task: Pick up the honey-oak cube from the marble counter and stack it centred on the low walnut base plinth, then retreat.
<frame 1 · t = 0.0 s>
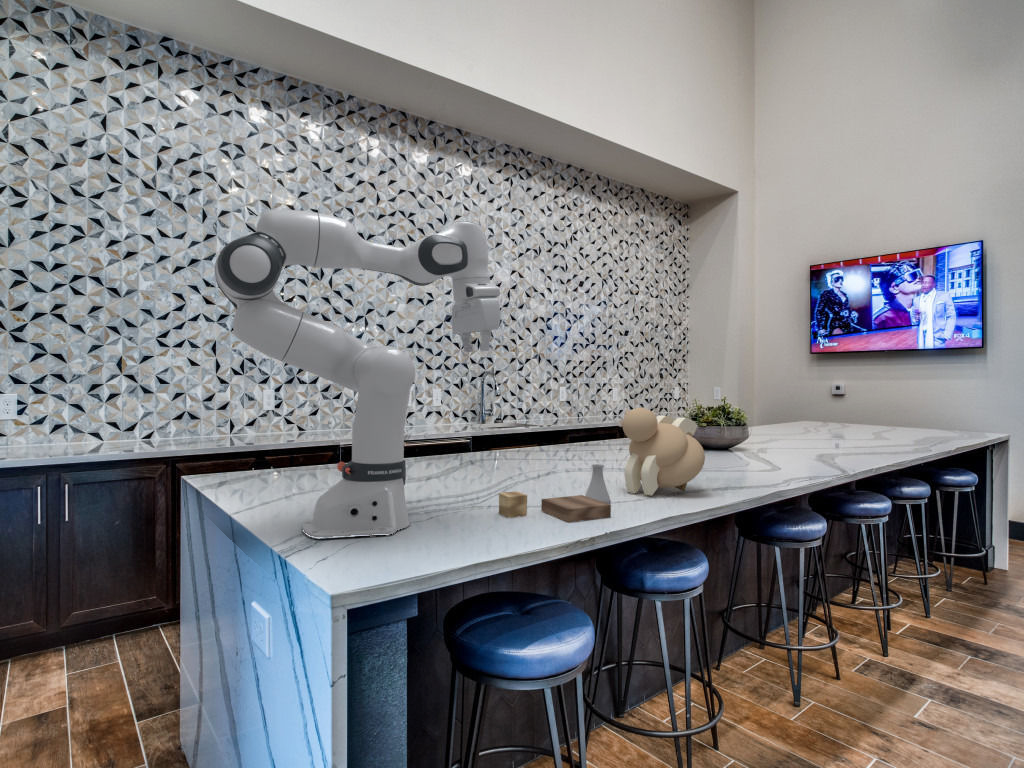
hand: (476, 351, 137), 39 cm above the worktop, tool pointing down, fingers open, 8 cm apart
walnut base: (575, 514, 141), on the worktop
flask: (597, 503, 155), on the worktop
oak cube: (512, 514, 139), on the worktop
tan rounded figure: (663, 492, 171), on the worktop
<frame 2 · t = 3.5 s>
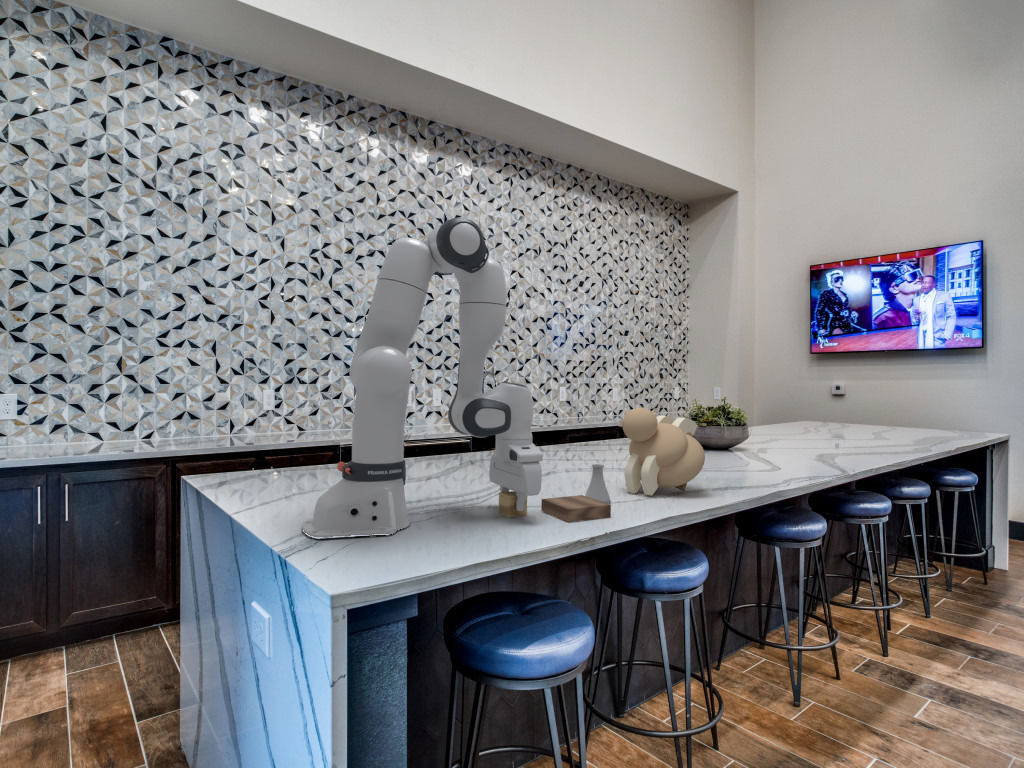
hand: (512, 507, 139), 2 cm above the worktop, tool pointing down, fingers closed on oak cube, 5 cm apart
oak cube: (512, 514, 139), on the worktop, touching gripper
everything else where it was.
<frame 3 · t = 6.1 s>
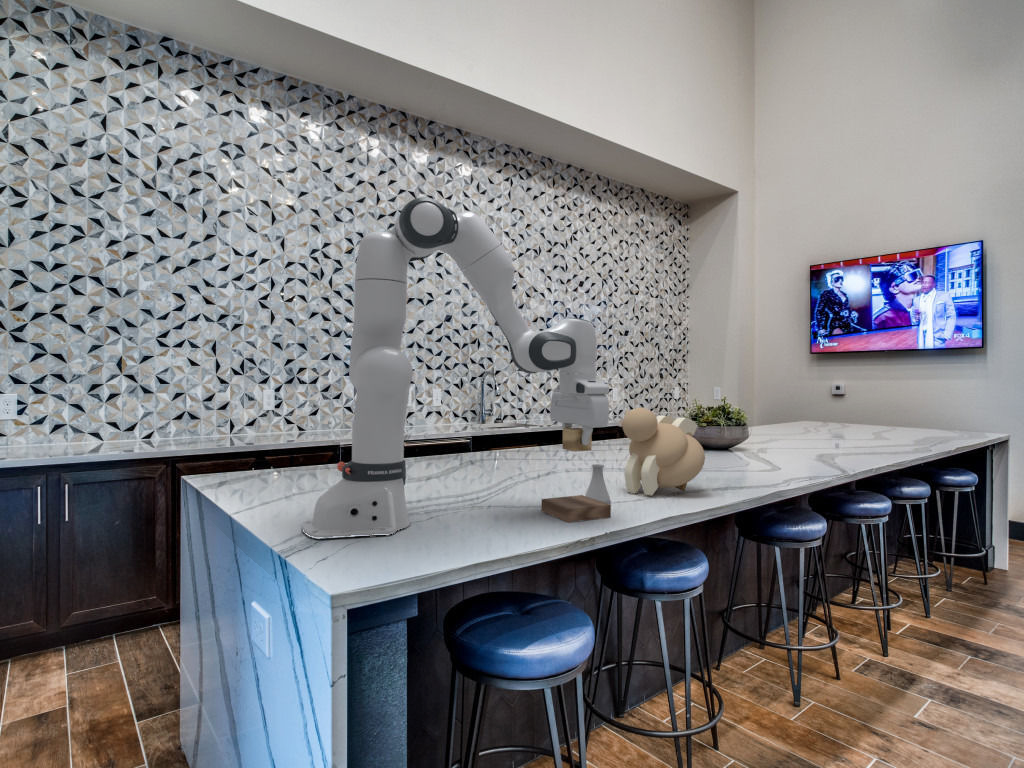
hand: (576, 443, 140), 17 cm above the worktop, tool pointing down, fingers closed on oak cube, 5 cm apart
oak cube: (576, 449, 140), point 16 cm above the worktop, touching gripper
everything else where it was.
when the fingers open (6 cm above the worktop, at t = 8.6 s): oak cube stays where it is, resting on walnut base.
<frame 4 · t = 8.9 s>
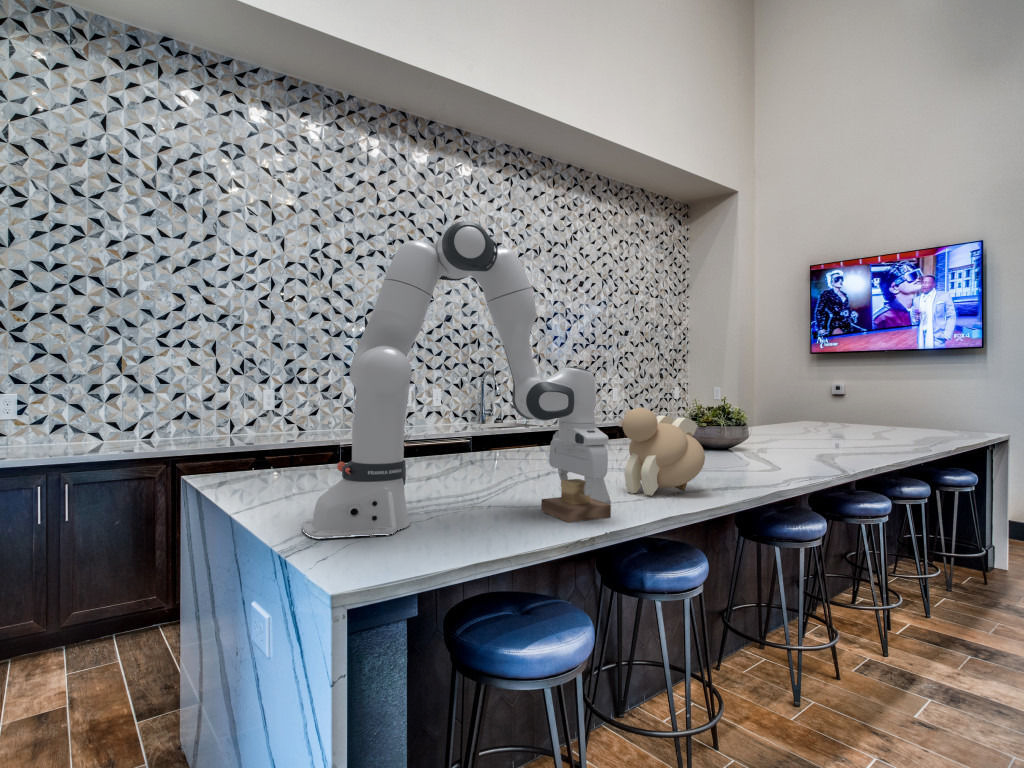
hand: (575, 491, 140), 6 cm above the worktop, tool pointing down, fingers open, 8 cm apart
oak cube: (575, 501, 141), point 3 cm above the worktop, touching walnut base
everything else where it was.
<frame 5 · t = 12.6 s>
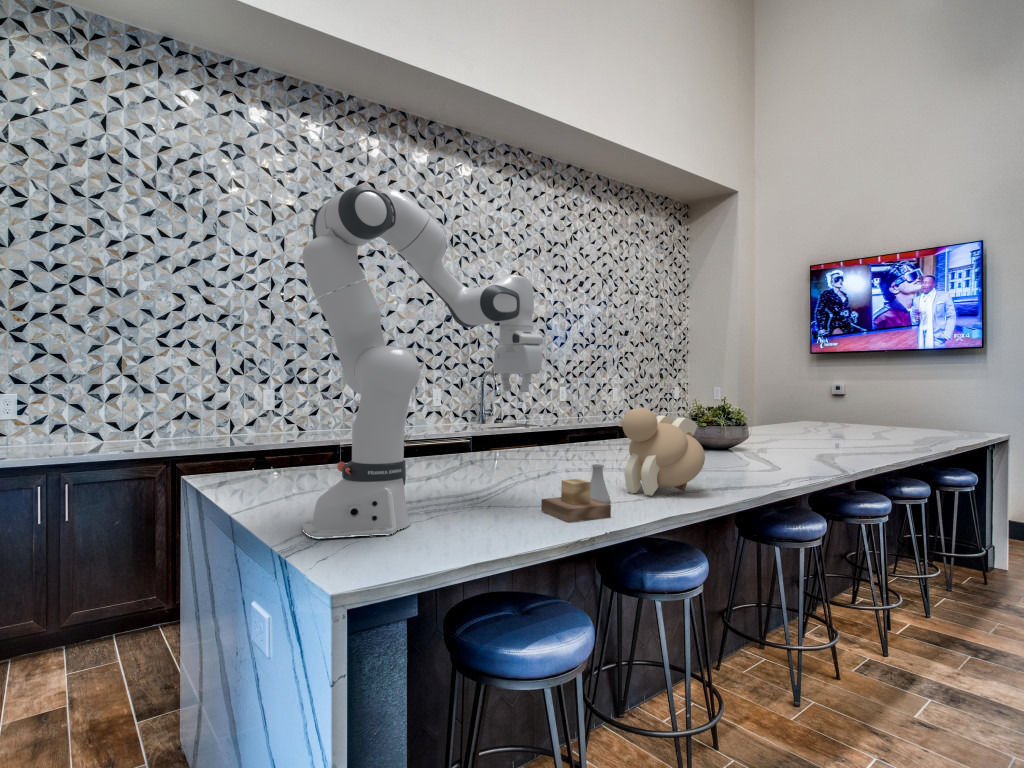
hand: (515, 391, 151), 29 cm above the worktop, tool pointing down, fingers open, 8 cm apart
nothing on the worktop moved.
at the end: oak cube inside the target area on the walnut base (0.0 cm from its centre), point 3.0 cm above the walnut base's base; oak cube tilted 0°; the gripper is holding nothing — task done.
